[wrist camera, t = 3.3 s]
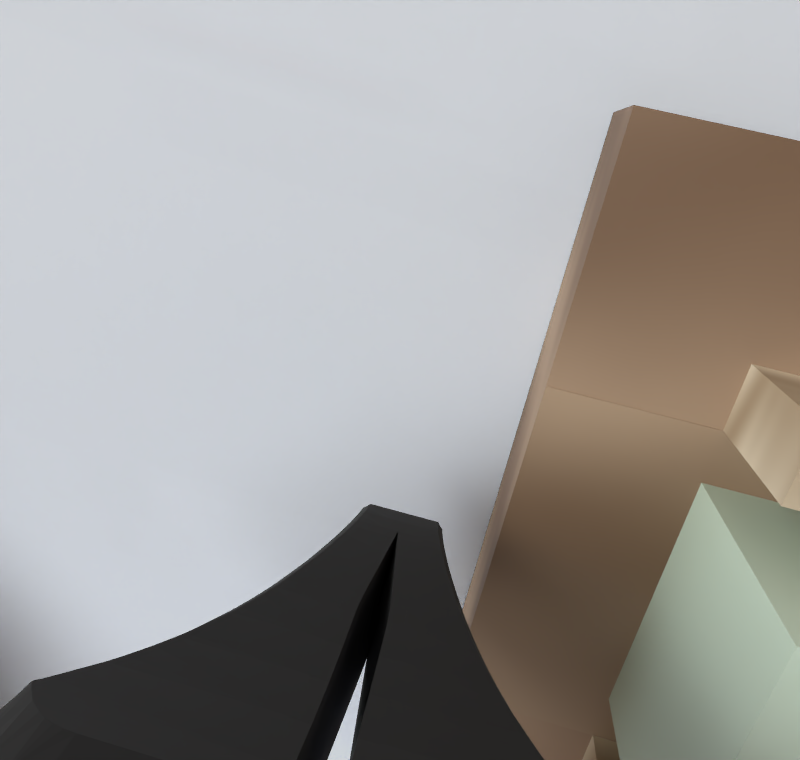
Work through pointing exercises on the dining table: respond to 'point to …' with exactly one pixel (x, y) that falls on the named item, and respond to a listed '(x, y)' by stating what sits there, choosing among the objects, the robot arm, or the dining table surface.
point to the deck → (641, 409)
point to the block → (718, 640)
